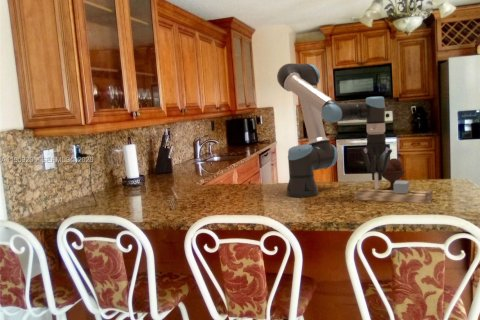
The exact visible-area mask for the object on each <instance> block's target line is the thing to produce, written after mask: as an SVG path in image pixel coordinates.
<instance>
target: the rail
mask: <svg viewBox="0 0 480 320" xmlns="http://www.w3.org/2000/svg"><path fill="white" fill-rule="evenodd" d="M433 194H434V193H433V189H427V190H426V191H421V190H420V191H415V190H409V191H408V193H407V194H403V193H394V191H391V190H386V189H385V190H384V189H383V190H382V189H361V188H360V189H358V190H357V191H355V192H354V200H359V201H376V202H377V201H378V202H400V203H401V202H402V203H416V204H417V203H418V204H419V203H422V204H431V203H432V201H433V199H434V198H433Z"/></svg>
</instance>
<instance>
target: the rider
mask: <svg viewBox="0 0 480 320" xmlns="http://www.w3.org/2000/svg"><path fill="white" fill-rule="evenodd" d="M393 187H394V193H403V194H407V193H408V191H410V181H409V180H397V181H395V183H394V184H393Z"/></svg>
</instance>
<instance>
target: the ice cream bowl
mask: <svg viewBox="0 0 480 320" xmlns="http://www.w3.org/2000/svg"><path fill="white" fill-rule="evenodd" d="M383 165H384V163H382V169H383ZM405 172H406V170H405V169H403V166H402V162H401V161H400V159H398V158H391V159H390V158H389V161H388V165H387V169H386V171H385V172H382V179H384V180H386V181H388V182H389V184H390V186H388V187H387V188H386V189H385V190H391V191H394V187H393V184H394V183H395V182H396V181H400V179H402V178H403V176H404V174H405Z"/></svg>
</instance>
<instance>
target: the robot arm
mask: <svg viewBox="0 0 480 320" xmlns="http://www.w3.org/2000/svg"><path fill="white" fill-rule="evenodd" d="M320 79H321V75H320V71H319V69H318V68H317V66H315V65H314V64H311V63H305V62H304V63H285V64H284V65H282V66H281V67H280V68H279V70H278V72H277V74H276V80H277V83H278V84H279V86H280V87H282V89H283V90H285V91H286V92H292V93H293V94H295V95H296V96H297V97H298V99H299V103H300V108H301V112H302V116H303V122H304V125H305V128H306V129H305V130H306V134H307V138H308V142H307V143H306V144H300V145H296V146H292V147H290V148H289V149H288V151H287V154H288V155H287V160H288V177H289V180H288V184H287V187H286V196H288V197H291V198H309V197H314V196H316V195H317V196H318V195H319V188H318V186H317V182H316V179H315V176H314V174H315V173H314V171H319V170H326V169H328V168H332V167H333V166H335V164H336V163H337V160H338V157H339V151H338V148H337V147H336V146H335V145H333V144H331V140H330V139H329V138H328V137H327V135H326V133H325V127H324V123H323V120H324V121H325V122H327V123H337V122H338V123H339V122H346V121H348V122H349V121H357V120H358V121H359V120H363V121H364V120H366V122H365V123H366V133H367V134H366V146H365V148H363V149H360V153H361V154H362V156H363V159H364V162H365V166H366V171H367V172H369V173H371V180H372V181H374V189H376V190H379V189H380V187H381V185H380V184H381V181H383V177H382V172H385V171H386V169H387V165H388V162H389V160H390V155H391V154H392V153H393V149H392V148H389V147H388V145H387V144H386V143H387V142H386V133H385V132H386V117H385V116H386V105H385V103H386V102H385V97H384V96H369V97H366V98H365V101H364V102H363V101H362V102H361V101H360V102H348V103H347V102H345V103H339V102H338V101H336V100H334V99H333V98H331V97H330V96H329V95H327V94H326V93H324V92H323V91H321V90H320V89H318V84H319V83H320ZM322 118H323V119H322ZM384 152H385V156H384V157H385V158H384V162H383V154H384ZM368 153H369V154H370V158H371V159H369V155H368ZM376 157H377V161H376ZM370 161H371V162H370ZM376 162H377V164H376ZM383 164H384V165H383ZM382 165H383V169H382ZM376 166H377V167H376Z"/></svg>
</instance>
